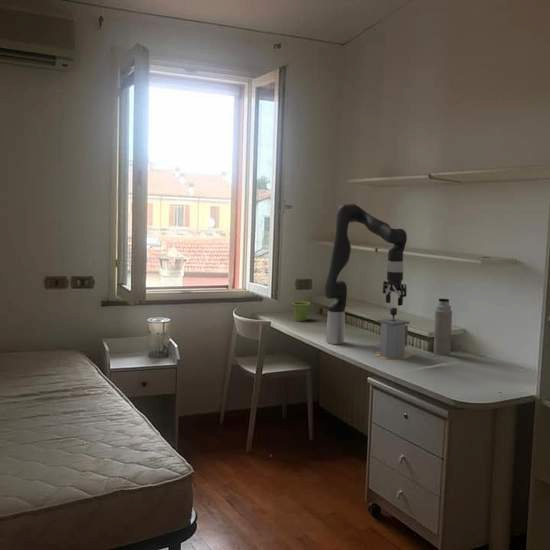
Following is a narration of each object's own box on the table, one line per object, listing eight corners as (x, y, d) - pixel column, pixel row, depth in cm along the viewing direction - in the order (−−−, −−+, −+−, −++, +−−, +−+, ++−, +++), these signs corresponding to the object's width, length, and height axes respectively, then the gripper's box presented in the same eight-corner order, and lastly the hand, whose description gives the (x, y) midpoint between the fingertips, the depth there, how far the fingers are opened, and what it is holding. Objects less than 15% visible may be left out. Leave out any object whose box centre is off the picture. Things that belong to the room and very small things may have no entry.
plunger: (380, 346, 301) (381, 307, 299) (393, 345, 305) (394, 306, 303) (391, 350, 294) (392, 310, 292) (404, 348, 298) (406, 308, 296)
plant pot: (292, 318, 404) (292, 301, 403) (310, 319, 402) (310, 301, 401) (290, 321, 392) (290, 304, 391) (309, 322, 391) (309, 304, 389)
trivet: (365, 355, 303) (365, 353, 303) (394, 351, 312) (394, 349, 312) (390, 363, 288) (390, 361, 288) (419, 359, 297) (419, 357, 296)
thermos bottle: (449, 353, 309) (451, 298, 306) (450, 357, 301) (453, 300, 298) (433, 352, 310) (435, 297, 307) (434, 356, 302) (436, 299, 299)
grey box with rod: (375, 354, 302) (376, 319, 300) (398, 351, 309) (399, 317, 307) (390, 359, 292) (392, 323, 290) (413, 355, 299) (415, 321, 297)
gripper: (379, 269, 299) (378, 302, 301) (399, 272, 287) (398, 306, 289) (391, 268, 303) (390, 301, 305) (411, 271, 291) (410, 305, 293)
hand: (394, 304), depth 297 cm, fingers open, 8 cm apart
